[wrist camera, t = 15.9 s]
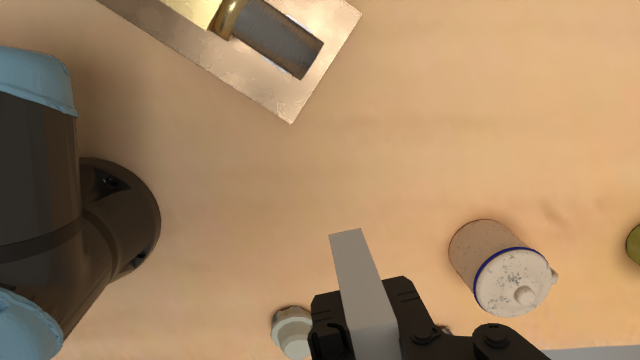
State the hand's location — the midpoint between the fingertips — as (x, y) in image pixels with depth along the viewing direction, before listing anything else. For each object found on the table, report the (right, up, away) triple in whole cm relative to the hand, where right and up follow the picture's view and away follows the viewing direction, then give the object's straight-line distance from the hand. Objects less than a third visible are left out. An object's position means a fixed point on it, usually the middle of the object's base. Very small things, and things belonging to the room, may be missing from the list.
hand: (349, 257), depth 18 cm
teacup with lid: (+21, -6, +36) cm, 42 cm away
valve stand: (-13, +24, +23) cm, 36 cm away
